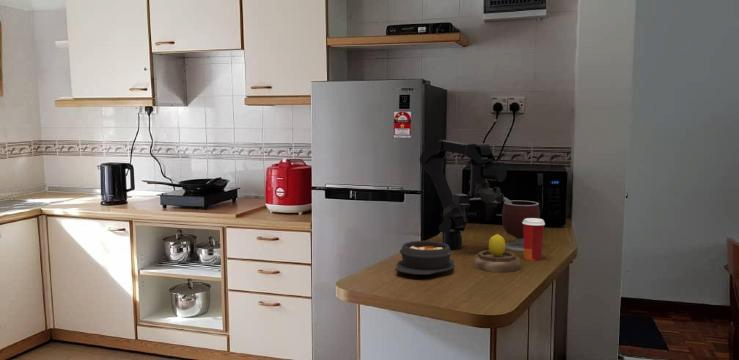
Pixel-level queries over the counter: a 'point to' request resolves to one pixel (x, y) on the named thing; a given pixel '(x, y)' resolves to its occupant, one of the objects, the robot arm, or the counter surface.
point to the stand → (496, 262)
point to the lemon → (497, 245)
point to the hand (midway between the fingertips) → (477, 221)
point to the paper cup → (533, 238)
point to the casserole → (425, 258)
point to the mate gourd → (517, 220)
